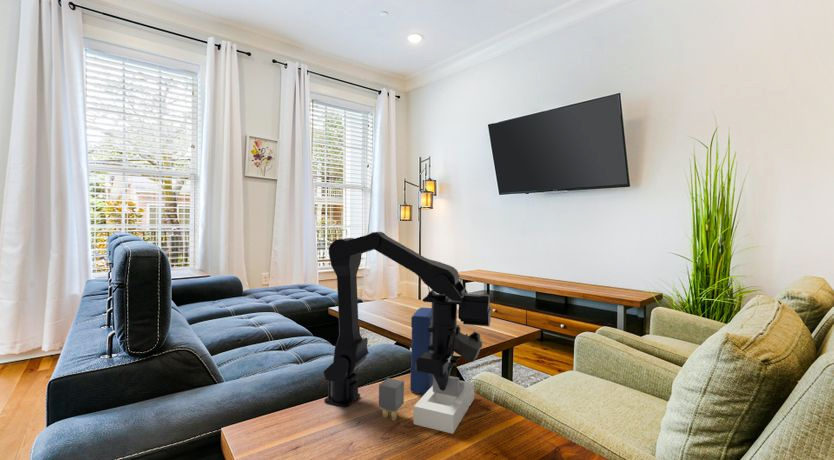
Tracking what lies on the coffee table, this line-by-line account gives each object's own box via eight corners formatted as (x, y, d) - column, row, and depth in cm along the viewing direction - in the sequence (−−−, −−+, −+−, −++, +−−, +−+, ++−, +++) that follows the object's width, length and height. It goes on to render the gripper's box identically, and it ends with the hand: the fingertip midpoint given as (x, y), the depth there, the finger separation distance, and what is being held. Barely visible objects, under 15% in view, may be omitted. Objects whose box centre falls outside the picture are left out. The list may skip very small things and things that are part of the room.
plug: (378, 418, 87) (378, 385, 87) (387, 409, 91) (387, 377, 91) (395, 422, 86) (395, 388, 85) (403, 413, 90) (403, 381, 89)
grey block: (432, 391, 91) (433, 375, 91) (440, 382, 97) (441, 366, 96) (457, 396, 89) (457, 379, 89) (464, 387, 94) (464, 370, 94)
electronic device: (429, 394, 99) (430, 317, 98) (409, 392, 100) (410, 315, 99) (434, 379, 109) (436, 308, 108) (416, 377, 110) (417, 307, 109)
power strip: (413, 424, 85) (413, 406, 85) (440, 391, 101) (440, 376, 101) (452, 433, 82) (453, 415, 82) (474, 398, 97) (474, 383, 97)
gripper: (466, 338, 76) (464, 416, 77) (488, 316, 93) (487, 380, 94) (414, 331, 81) (413, 405, 81) (445, 311, 98) (443, 372, 99)
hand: (442, 389), depth 89 cm, fingers closed
